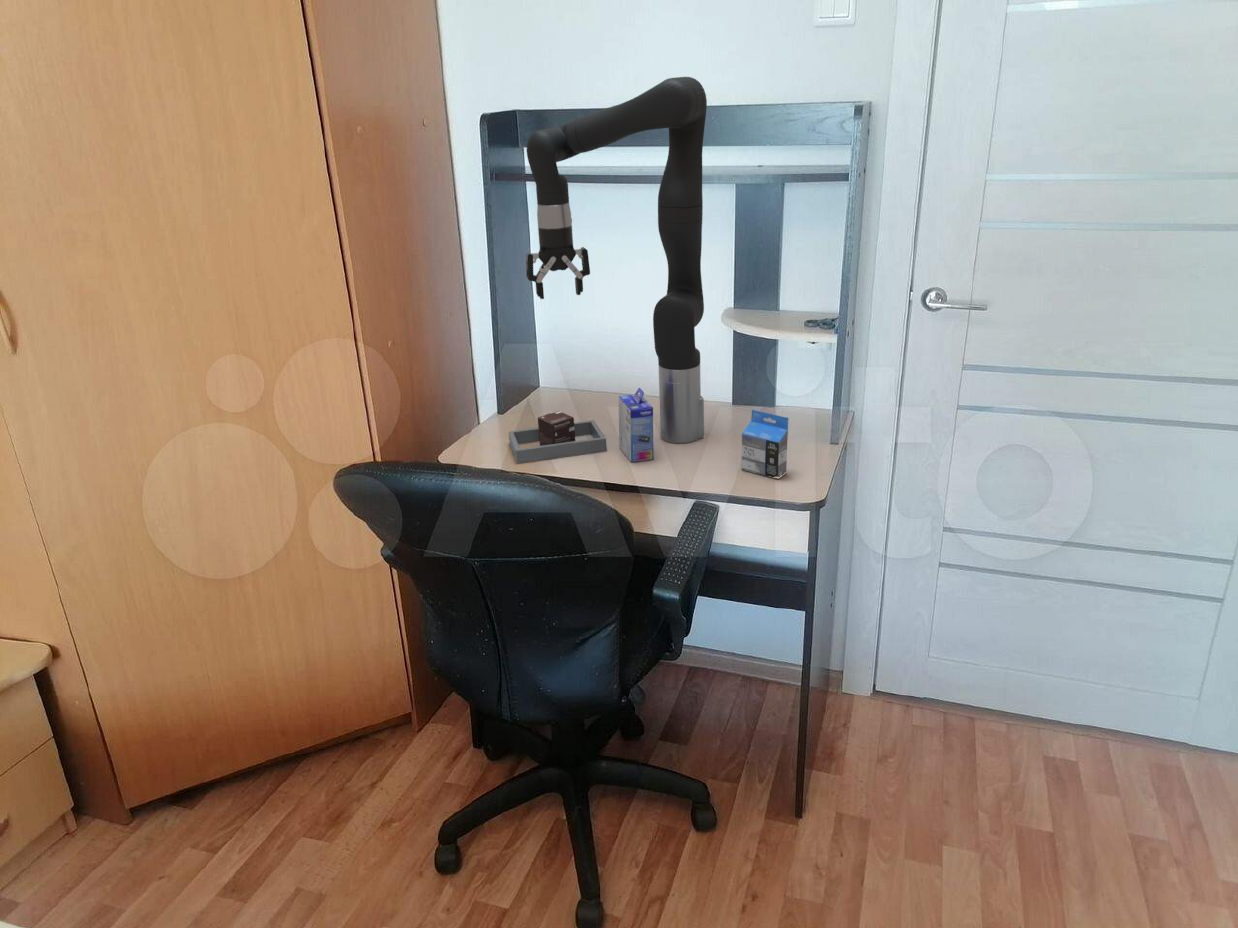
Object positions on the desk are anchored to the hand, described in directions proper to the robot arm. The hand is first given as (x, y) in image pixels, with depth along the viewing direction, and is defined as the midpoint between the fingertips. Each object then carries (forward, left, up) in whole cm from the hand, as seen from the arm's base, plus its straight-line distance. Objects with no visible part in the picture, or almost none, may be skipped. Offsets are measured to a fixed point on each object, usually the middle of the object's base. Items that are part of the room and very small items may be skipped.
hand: (560, 296), depth 208 cm
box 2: (+6, +17, -30) cm, 35 cm away
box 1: (+6, +17, -30) cm, 35 cm away
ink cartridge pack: (-32, +44, -30) cm, 63 cm away
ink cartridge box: (-10, +26, -30) cm, 41 cm away
